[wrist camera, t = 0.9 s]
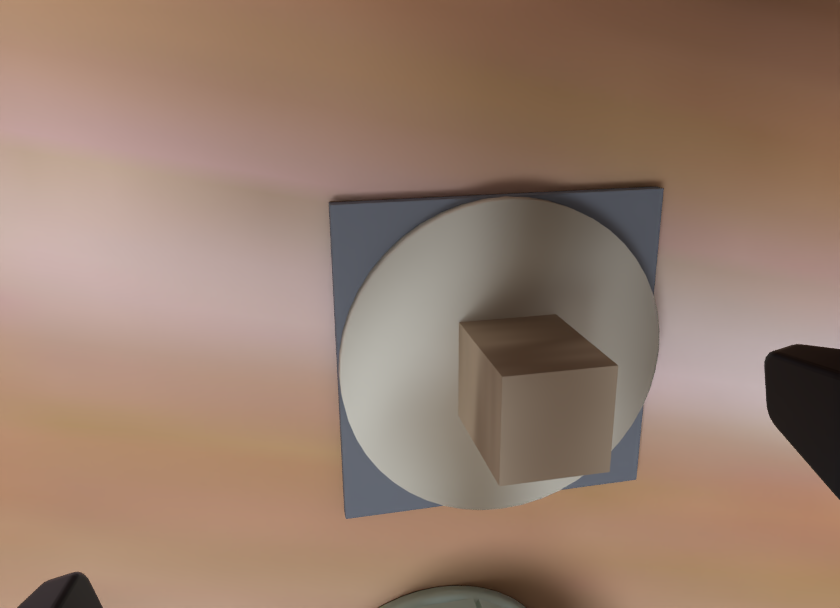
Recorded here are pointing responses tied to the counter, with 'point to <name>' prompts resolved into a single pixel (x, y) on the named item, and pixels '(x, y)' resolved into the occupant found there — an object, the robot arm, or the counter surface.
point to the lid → (498, 353)
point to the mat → (392, 219)
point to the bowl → (455, 599)
